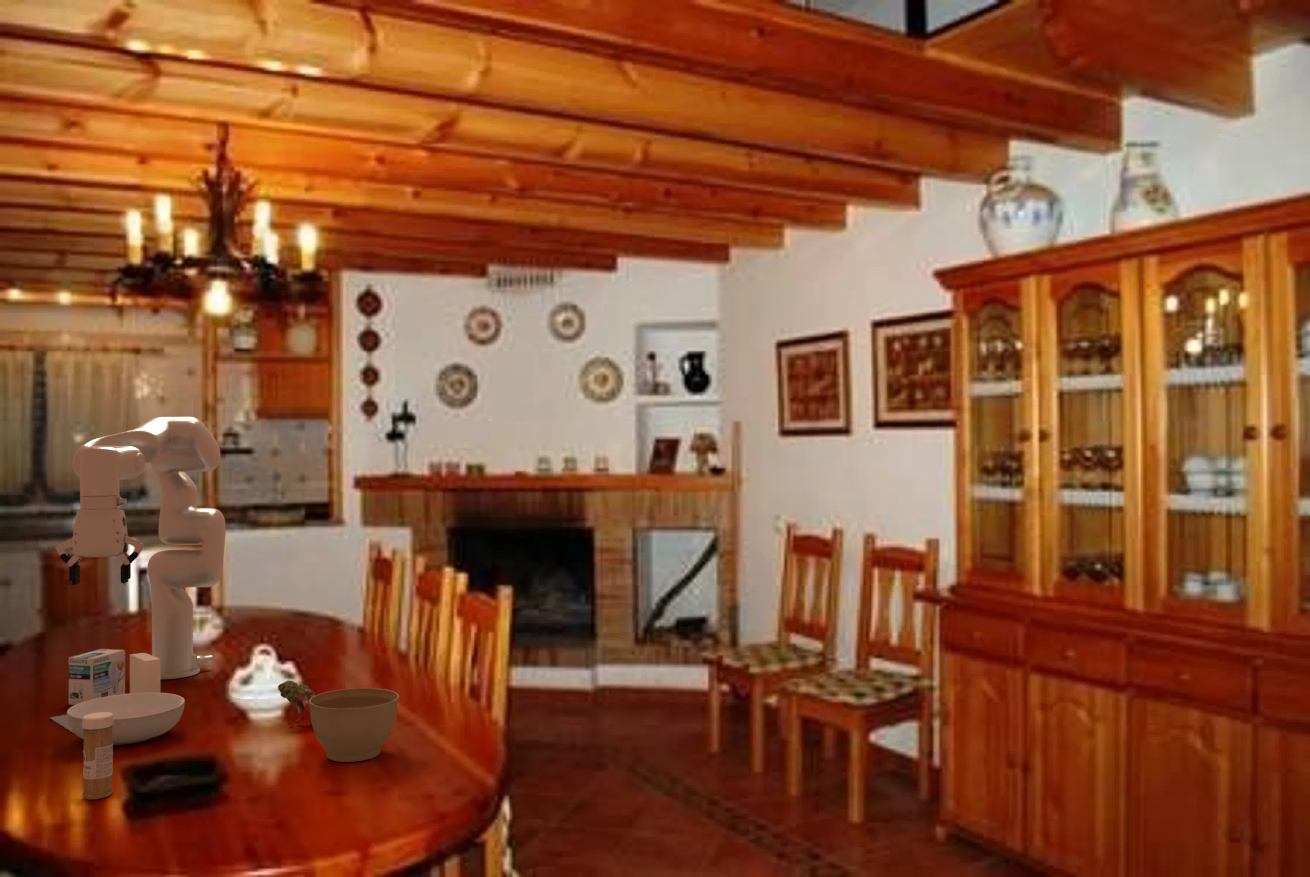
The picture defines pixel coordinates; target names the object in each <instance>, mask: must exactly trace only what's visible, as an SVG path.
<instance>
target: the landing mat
mask: <svg viewBox="0 0 1310 877" xmlns="http://www.w3.org/2000/svg"><path fill="white" fill-rule="evenodd" d="M51 719H52V720H53V721H52V720H51ZM49 720H51V721H52V722H54V723H56V724H57V723H58V724H57V725H59V726H60V725H61V727H62V726H63V727H64V729H65V730H66V731H68V730H69V731H68V732H70V733H71V732H72V733H71V734H75V733H74V732H73V731H72V729H71V727H70V725H69V722H68V718H67V714H63V715H56V716H51V717H49ZM63 727H62V728H63Z"/></svg>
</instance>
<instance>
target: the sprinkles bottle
mask: <svg viewBox="0 0 1310 877" xmlns="http://www.w3.org/2000/svg"><path fill="white" fill-rule="evenodd" d="M113 722H114V720H113V714H112V713H110V712H97V713H91V714H88V715H85V716H84V717H83V718H82V728H83V731H84V739H83V750H82V754H83V755H82V756H83V757H82V758H83V760H82V767H83V768H82V778H83V779H82V780H83V781H82V782H83V783H82V786H83V787H82V789H83V790H82V791H83V792H82V798H83V799H85V800H91V801H92V800H100V799H103V798H108V797H110V796H112V794H114V793H113V792H114V790H113V773H114V772H113V771H114V770H113V768H114V767H113V766H114V764H113V763H114V762H113V761H114V759H113V758H114V757H113V756H114V755H113V754H114V751H113V750H114V747H113V746H114V745H113V743H112V727H113Z"/></svg>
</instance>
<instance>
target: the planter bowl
mask: <svg viewBox="0 0 1310 877" xmlns="http://www.w3.org/2000/svg"><path fill="white" fill-rule="evenodd" d="M315 695H316V696H313V697H312V698H310V700H309V707H310V714H311V722H312V726H311V727H312V728H313V732H314V734H315V736H316V738H317V740H318V742H319V743H320V745H321V746H322V748H323V749H324V750H325V751H326V757H327V759H329V760H330V761H334V762H339V763H340V762H343V763H344V762H345V763H353V762H362V761H367V760H370V759H371V760H372V759H373V758H376V757H378V756H379V755H380V754H381V752H382V751H381V750H382V746H383V745H384V744H385V742H386V741H387V740H388V738H389V736H390V735H391V732H392V731H393V728H394V726H395V723H396V719H397V716H398V715H397V713H398V704H399V701H400V695H399V693H397V692H395V691H394V690H390V689H382V688H377V687H375V688H374V687H373V688H372V687H354V688H343V689H335V690H330V691H326V692H321V693H319V694H315Z"/></svg>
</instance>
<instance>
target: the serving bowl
mask: <svg viewBox="0 0 1310 877" xmlns="http://www.w3.org/2000/svg"><path fill="white" fill-rule="evenodd" d="M185 704H186V700H185V698H184V697H182V696H180V695H178V694H174V693H170V692H169V693H168V692H160V693H153V692H149V693H130V692H129V693H125V694H120V695H113V696H107V697H101V698H96V699H92V700H88V701H84V702H81V703H79V704H76V705H71V706H70V707H69V708H68V709H67V711H66V715H67V718H68V722H69V725H70V727H71V729H72V731H73V732H74V733H73V734H74V735H76V736H77V737H78V738H80V739H82V740H84V731H83V728H82V718H83V717H84V716H85V715H88V714H91V713H97V712H110V713H112V714H113V720H114V722H113V727H112V743H113V746H124V745H123V744H126V745H133V744H137V743H143V742H145V741H147V740H149V739H153V738H156V737H159V736H162V735H163V734H165V733H167V732H169V731H170V730H171V729H173V728H174V727H175V726H176V724H178V722H179V721H180V720H181V717H182V715H183V712H184V709H185ZM132 743H133V744H132Z"/></svg>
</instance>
